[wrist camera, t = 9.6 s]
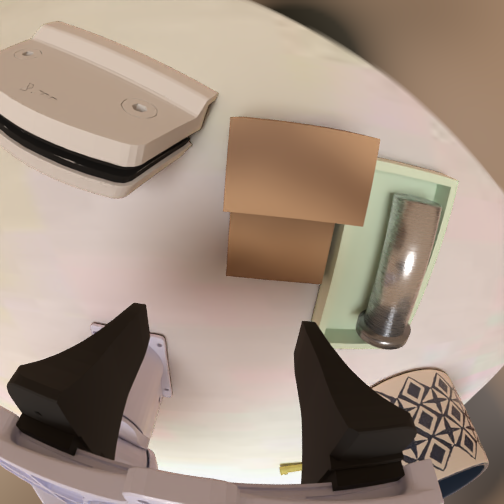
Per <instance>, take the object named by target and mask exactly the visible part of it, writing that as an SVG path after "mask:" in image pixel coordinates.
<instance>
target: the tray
mask: <svg viewBox="0 0 504 504" xmlns="http://www.w3.org/2000/svg"><path fill="white" fill-rule="evenodd" d="M458 182H459V181H458V180H456V179H453V178H451V177H449V176H447V175H445V174H442V173H439V172H436V171H432V170H428V169H425V168H421V167H417V166H413V165H409V164H405V163H401V162H396V161H392V160H388V159H383V158H379V157H377V162H376V167H375V173H374V178H373V183H372V188H371V193H370V198H369V203H368V207H367V212H366V216H365V221H364V225H363V227H360V226H352V225H345V224H337V223H335V226H334V231H333V235H332V240H331V245H330V249H329V254H328V258H327V263H326V267H325V271H324V276H323V280H322V284H320V288H319V292H318V296H317V300H316V304H315V308H314V312H313V316H312V320H311V322H316V324H317V325H318V327H319V328H320V330H321V331H322V333H323V334H324V336H325V337H326V339H327V340H328V341H329V343H330V344H331V346H332V347H333V348H334V349H381V348H377V347H374V346H372V345H370V344H368V343H366V342H365V341H364V340H363V339H361V338H360V336H359V335H358V334H357V332H356V322H357V319H358V316H359V314H360V313H361V312H362V311H364V310H366V309H367V307H368V303H369V300H370V297H371V293H372V289H373V286H374V282H375V278H376V275H377V271H378V267H379V263H380V259H381V255H382V250H383V246H384V242H385V237H386V233H387V228H388V223H389V218H390V213H391V208H392V202H393V197H394V194H395V193H402V194H409V195H413V196H418V197H421V198H425V199H428V200H431V201H433V202H435V203H438V204H439V205H441V206H442V211H441V215H440V220H439V224H438V228H437V232H436V236H435V240H434V244H433V248H432V251H431V255H430V258H429V262H428V265H427V269H426V272H425V275H424V278H423V282H422V285H421V288H420V291H419V294H418V297H417V299H416V302H415V305H414V308H413V311H412V313H411V316H410V319H409V321H408V323H409V325H410V324H411V322H412V320H413V317H414V315H415V313H416V311H417V308H418V306H419V304H420V301H421V299H422V296H423V294H424V291H425V289H426V286H427V284H428V281H429V279H430V276H431V273H432V270H433V268H434V265H435V262H436V259H437V256H438V253H439V250H440V247H441V244H442V241H443V238H444V235H445V232H446V228H447V225H448V221H449V218H450V214H451V211H452V207H453V203H454V199H455V195H456V191H457V187H458Z"/></svg>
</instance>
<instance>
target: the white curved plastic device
mask: <svg viewBox="0 0 504 504" xmlns="http://www.w3.org/2000/svg"><path fill="white" fill-rule="evenodd" d="M217 96H218V93H217V92H216V91H214V90H212V89H210V88H209V87H207V86H205V85H203V84H201V83H200V82H198V81H196V80H194V79H192V78H190V77H188V76H186V75H185V74H183V73H181V72H179V71H177V70H175V69H173V68H171V67H169V66H167V65H165V64H163V63H161V62H159V61H157V60H155V59H152V58H150V57H148V56H146V55H144V54H142V53H140V52H137V51H135V50H133V49H131V48H128V47H126V46H124V45H121V44H119V43H117V42H114V41H112V40H109V39H107V38H104V37H102V36H99V35H97V34H94V33H91V32H89V31H86V30H83V29H80V28H78V27H75V26H72V25H69V24H66V23H63V22H60V21H56V22H51V23H46V24H43V25H42V26H41V27H40V28H39V29H38V31H37V32H36V33H35V34H34V35H33V37H32V38H30V39H28V40H25V41H23V42H20V43H18V44H15V45H13V46H10V47H8V48H6V49H4V50H1V51H0V146H1V147H2V148H4V149H5V150H6V151H7V152H8V153H10V154H11V155H12V156H14V157H15V158H17V159H18V160H20V161H21V162H23V163H24V164H26V165H28V166H29V167H31V168H33V169H35V170H37V171H39V172H41V173H43V174H45V175H47V176H49V177H51V178H53V179H55V180H58V181H60V182H63V183H65V184H68V185H70V186H73V187H76V188H79V189H82V190H85V191H88V192H91V193H95V194H98V195H102V196H105V197H109V198H114V199H119V198H124V197H126V196H128V195H129V194H130V193H131V192H133V191H134V190H135V189H137V188H138V187H139V186H141V185H142V184H143V183H145V182H146V181H147V180H149V179H150V178H151V177H153V176H154V175H155V174H157V173H158V172H160V171H161V170H162V169H164V168H165V167H166V166H168V165H169V164H171V163H172V162H174V161H175V160H176V159H178V158H179V157H181V156H182V155H183V154H184V153H185V152H186V151H187V150H188V149H189V147H190V146H191V145H192V144H191V143H190V142H188V141H189V138H187V137H188V136H189V135H191V134H193V133H195V132H196V131H198V130H200V129H201V126H202V123H203V120H204V117H205V114H206V111H207V108H208V105H209V104H210V103H212V102H213V101H215V100H216V98H217Z"/></svg>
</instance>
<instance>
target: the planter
mask: <svg viewBox="0 0 504 504" xmlns="http://www.w3.org/2000/svg"><path fill="white" fill-rule="evenodd" d="M372 389H373V390H374V391H375V392H376V393H378V394H379V395H381V396H382V397H383V398H385V399H386V400H388V401H390V402H391V403H393V404H394V405H396V406H398V407H400V408H402V409H404V410H405V411H407V412H409V413H410V414H411V416H412V418H413V421H414V424H415V427H416V430H417V434H416V437H415V438H414V440H413V441H412V442H411V443H410V444H409V445H408V446H407V447H406V448H405V449H404V450H403V451H402V452H403V455H404V459H403V460H402V461H401V462H402V466H405V465H407V464H410V463H413V462H417V461H421V460H425V459H431V461H432V464H433V467H434V470H435V473H436V476H437V480H438V483H439V486H440V490H441V493H442V497H443V499H444V498H446V497H447V496H449V495H451V494H453V493H455V492H456V491H458V490H460V489H461V488H463V487H465V486H466V485H468V484H469V483H471V482H472V481H473V480H475V479H476V478H477V477H478V476H480V475H481V474H482V473H483V472H484V471H485V470H486V468H487V467H488V464H489V463H488V460H487V457H486V454H485V452H484V450H483V447H482V445H481V442H480V440H479V437H478V435H477V433H476V431H475V429H474V426H473V424H472V422H471V420H470V417H469V416H468V413H467V411H466V409H465V407H464V405H463V403H462V401H461V399H460V397H459V395H458V393H457V391H456V389H455V387H454V385H453V383H452V382H451V380H450V378H449V377H448V375H447V374H445V373H444V372H441V371H438V370H431V369H429V370H418V371H413V372H409V373H405V374H402V375H399V376H396V377H394V378H391V379H389V380H387V381H384V382H383V383H381V384H379V385H377V386H375V387H373V388H372Z"/></svg>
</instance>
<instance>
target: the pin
mask: <svg viewBox="0 0 504 504" xmlns="http://www.w3.org/2000/svg"><path fill="white" fill-rule="evenodd" d="M441 211H442V206H441V205H439V204H438V203H435V202H433V201H431V200H428V199H425V198H421V197H418V196H413V195H409V194H402V193H395V194H394V197H393V202H392V208H391V213H390V218H389V223H388V228H387V233H386V237H385V242H384V246H383V250H382V255H381V259H380V263H379V267H378V271H377V275H376V278H375V282H374V286H373V289H372V293H371V297H370V300H369V303H368V307H367V309H366V310H364V311H362V312H361V313H360V314H359V316H358V319H357V322H356V332H357V334H358V335H359V336H360V338H361V339H363V340H364V341H365V342H366V343H368V344H370V345H372V346H374V347H377V348H381V349H397V348H400V347H402V346H403V345H405V343H406V342H407V339H408V337H409V335H410V332H411V329H410V325H409V323H408V321H409V319H410V316H411V313H412V311H413V308H414V305H415V302H416V299H417V297H418V294H419V291H420V288H421V285H422V282H423V278H424V275H425V272H426V269H427V265H428V262H429V258H430V255H431V251H432V248H433V244H434V240H435V236H436V232H437V228H438V224H439V220H440V215H441Z"/></svg>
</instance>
